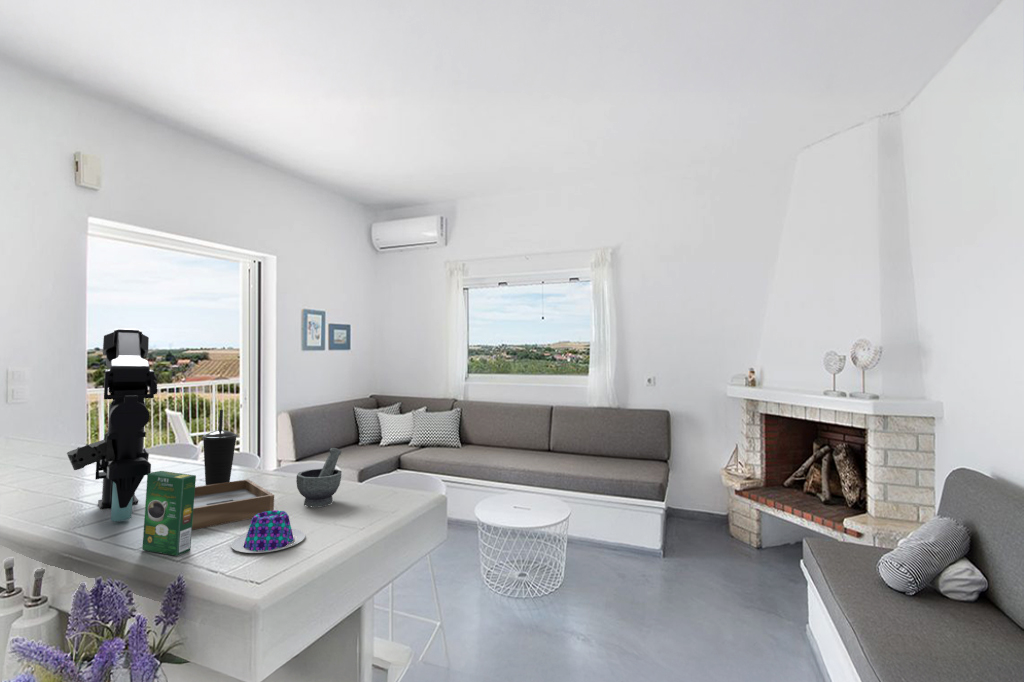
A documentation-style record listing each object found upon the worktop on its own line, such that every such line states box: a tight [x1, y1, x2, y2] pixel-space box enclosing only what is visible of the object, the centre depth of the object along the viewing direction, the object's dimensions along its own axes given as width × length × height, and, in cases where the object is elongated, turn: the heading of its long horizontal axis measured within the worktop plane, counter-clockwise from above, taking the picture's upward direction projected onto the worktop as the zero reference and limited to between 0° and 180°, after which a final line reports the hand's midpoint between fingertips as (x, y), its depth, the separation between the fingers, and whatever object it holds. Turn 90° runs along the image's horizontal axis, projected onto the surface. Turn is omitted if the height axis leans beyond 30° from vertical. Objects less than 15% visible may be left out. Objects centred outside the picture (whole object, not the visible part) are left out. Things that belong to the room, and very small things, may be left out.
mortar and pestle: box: [295, 447, 342, 508], centre depth 111 cm, size 11×9×12 cm
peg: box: [110, 482, 133, 522], centre depth 95 cm, size 3×3×8 cm
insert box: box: [192, 478, 275, 531], centre depth 103 cm, size 18×16×4 cm
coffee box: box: [142, 470, 197, 557], centre depth 82 cm, size 8×3×13 cm, turn 75°
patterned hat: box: [230, 509, 306, 554], centre depth 86 cm, size 12×12×5 cm
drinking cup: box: [201, 409, 238, 485], centre depth 119 cm, size 8×8×20 cm
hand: (122, 505), depth 95 cm, fingers closed on peg, 3 cm apart
